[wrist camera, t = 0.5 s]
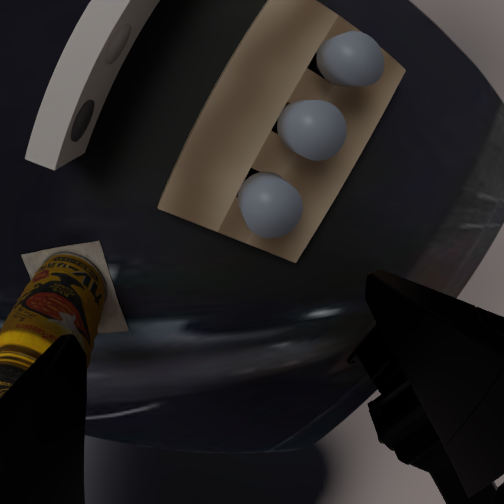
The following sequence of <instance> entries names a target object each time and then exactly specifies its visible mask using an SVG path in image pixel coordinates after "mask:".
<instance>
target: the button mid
mask: <svg viewBox="0 0 504 504" xmlns="http://www.w3.org/2000/svg"><path fill="white" fill-rule="evenodd" d="M277 131H278V135H279V138H280V140H281V141H282V143H283V144H284V145H285V146H286V147H287V148H288V149H290V150H291V151H293V152H295V153H297V154H299V155H301V156H303V157H305V158H307V159H310V160H314V161H322V160H326V159H329V158H331V157H333V156H334V155H335V154H337V153H338V152H339V150H340V149H341V148H342V146H343V144H344V142H345V139H346V134H347V127H346V122H345V119H344V116H343V115H342V113H341V112H340V110H339V109H338V108H337V107H335V106H334V105H333V104H331V103H329V102H326V101H322V100H297V101H294V102H292V103H290V104H288V105H287V106H286V107H285V108H284V109H283V110H282V112H281V113H280V116H279V118H278V122H277Z"/></svg>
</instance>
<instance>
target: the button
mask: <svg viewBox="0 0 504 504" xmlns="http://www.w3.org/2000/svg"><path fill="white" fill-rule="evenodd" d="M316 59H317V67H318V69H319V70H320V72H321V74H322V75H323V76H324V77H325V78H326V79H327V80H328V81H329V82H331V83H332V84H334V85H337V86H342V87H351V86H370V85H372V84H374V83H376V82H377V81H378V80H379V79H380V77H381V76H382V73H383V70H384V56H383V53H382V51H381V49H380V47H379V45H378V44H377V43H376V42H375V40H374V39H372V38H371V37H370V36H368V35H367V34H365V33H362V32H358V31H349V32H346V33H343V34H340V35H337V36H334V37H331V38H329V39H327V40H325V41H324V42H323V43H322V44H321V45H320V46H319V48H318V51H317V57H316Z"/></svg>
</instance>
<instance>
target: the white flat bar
mask: <svg viewBox="0 0 504 504" xmlns="http://www.w3.org/2000/svg"><path fill="white" fill-rule="evenodd" d="M159 1H160V0H91V1H90V3H89V5H88V6H87V8H86V10H85V11H84V13H83V15H82V16H81V18H80V20H79V22H78V24H77V25H76V27H75V29H74V31H73V33H72V35H71V37H70V39H69V40H68V42H67V44H66V47H65V49H64V51H63V53H62V55H61V57H60V59H59V61H58V64H57V66H56V68H55V70H54V73H53V75H52V77H51V80H50V82H49V85H48V87H47V90H46V93H45V95H44V98H43V101H42V103H41V106H40V109H39V112H38V115H37V118H36V121H35V124H34V128H33V131H32V134H31V138H30V141H29V145H28V148H27V152H26V156H25V159H26V160H29V161H31V162H34V163H37V164H39V165H42V166H44V167H47V168H50V169H52V170H56V169H58V168H59V167H61V166H63V165H65V164H66V163H68V162H70V161H71V160H73V159H75V158H77V157H79V156H80V155H82V154H84V153H85V151H86V148H87V145H88V143H89V140H90V137H91V134H92V132H93V129H94V126H95V124H96V121H97V119H98V116H99V114H100V112H101V109H102V107H103V104H104V102H105V100H106V98H107V95H108V93H109V91H110V89H111V87H112V84H113V82H114V80H115V78H116V76H117V74H118V72H119V70H120V68H121V66H122V64H123V62H124V60H125V58H126V56H127V54H128V53H129V51H130V49H131V47H132V45H133V43H134V42H135V40H136V38H137V36H138V35H139V33H140V31H141V30H142V28H143V26H144V25H145V23H146V21H147V20H148V18H149V16H150V15H151V13H152V12H153V10H154V9H155V7H156V6H157V4H158V2H159Z"/></svg>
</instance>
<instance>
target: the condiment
mask: <svg viewBox="0 0 504 504" xmlns="http://www.w3.org/2000/svg"><path fill="white" fill-rule="evenodd" d="M21 256H22V258H23V261H24V263H25V266H26V268H27V271H28V273H29V275H30V278H31V281H30V282H29V283H28V285H27V286H26V287H25V289H24V292H22V294H21V297H20V298H19V299H18V302H17V303H16V305H15V306H14V307H13V309H12V311H11V313H10V314H9V315H8V318H7V319H6V320H5V322H4V325H3V327H2V329H1V331H0V398H1V397H2V396H3V395H4V394H5V392H6V391H7V390H8V389H9V388H10V387H11V386H12V385H13V384H14V383H15V382H16V381H17V380H18V378H19V377H20V376H21V375H22V374H23V373H24V372H25V371H26V370H27V369H28V368H29V367H30V366H31V365H32V364H33V363H34V362H35V361H36V360H37V359H38V358H39V357H40V356H41V355H42V354H43V353H44V352H45V351H46V350H47V349H48V348H49V347H50V346H51V345H52V344H53V343H54V342H55V341H56V340H57V339H58V338H59V337H60V336H61V335H65V334H73V335H74V336H75V337H76V338H77V340H78V342H79V343H80V345H81V346H82V348H83V350H84V351H85V353H86V356H87V368H88V366H89V363H90V357H91V352H92V350H93V347H94V339H95V337H96V336H97V334H98V333H110V332H124V331H129V329H128V326H127V324H126V321H125V318H124V316H123V314H122V311H121V308H120V305H119V302H118V299H117V296H116V293H115V289H114V286H113V283H112V280H111V277H110V274H109V271H108V267H107V264H106V261H105V258H104V253H103V250H102V247H101V244H100V242H99V241H96V242H90V243H82V244H76V245H69V246H63V247H58V248H53V249H47V250H42V251H37V252H33V253H28V254H22V255H21Z"/></svg>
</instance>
